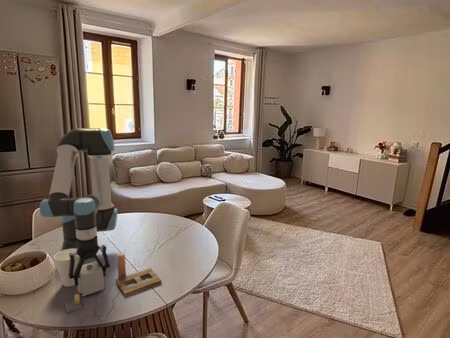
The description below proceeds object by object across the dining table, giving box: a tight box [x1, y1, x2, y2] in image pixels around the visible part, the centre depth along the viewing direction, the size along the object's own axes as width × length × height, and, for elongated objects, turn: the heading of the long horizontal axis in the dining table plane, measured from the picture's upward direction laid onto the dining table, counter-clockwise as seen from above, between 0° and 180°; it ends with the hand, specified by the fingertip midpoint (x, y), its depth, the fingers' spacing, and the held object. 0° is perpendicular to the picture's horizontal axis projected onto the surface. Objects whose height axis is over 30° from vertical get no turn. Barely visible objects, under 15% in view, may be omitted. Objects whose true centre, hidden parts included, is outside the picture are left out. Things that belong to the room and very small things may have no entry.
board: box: [115, 267, 162, 297], centre depth 127 cm, size 12×16×2 cm
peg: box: [116, 253, 127, 278], centre depth 132 cm, size 3×3×10 cm
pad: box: [64, 293, 83, 314], centre depth 111 cm, size 5×5×5 cm
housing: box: [79, 260, 105, 297], centre depth 120 cm, size 8×8×10 cm
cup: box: [53, 249, 80, 288], centre depth 125 cm, size 10×10×14 cm
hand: (91, 287), depth 121 cm, fingers closed on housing, 8 cm apart
